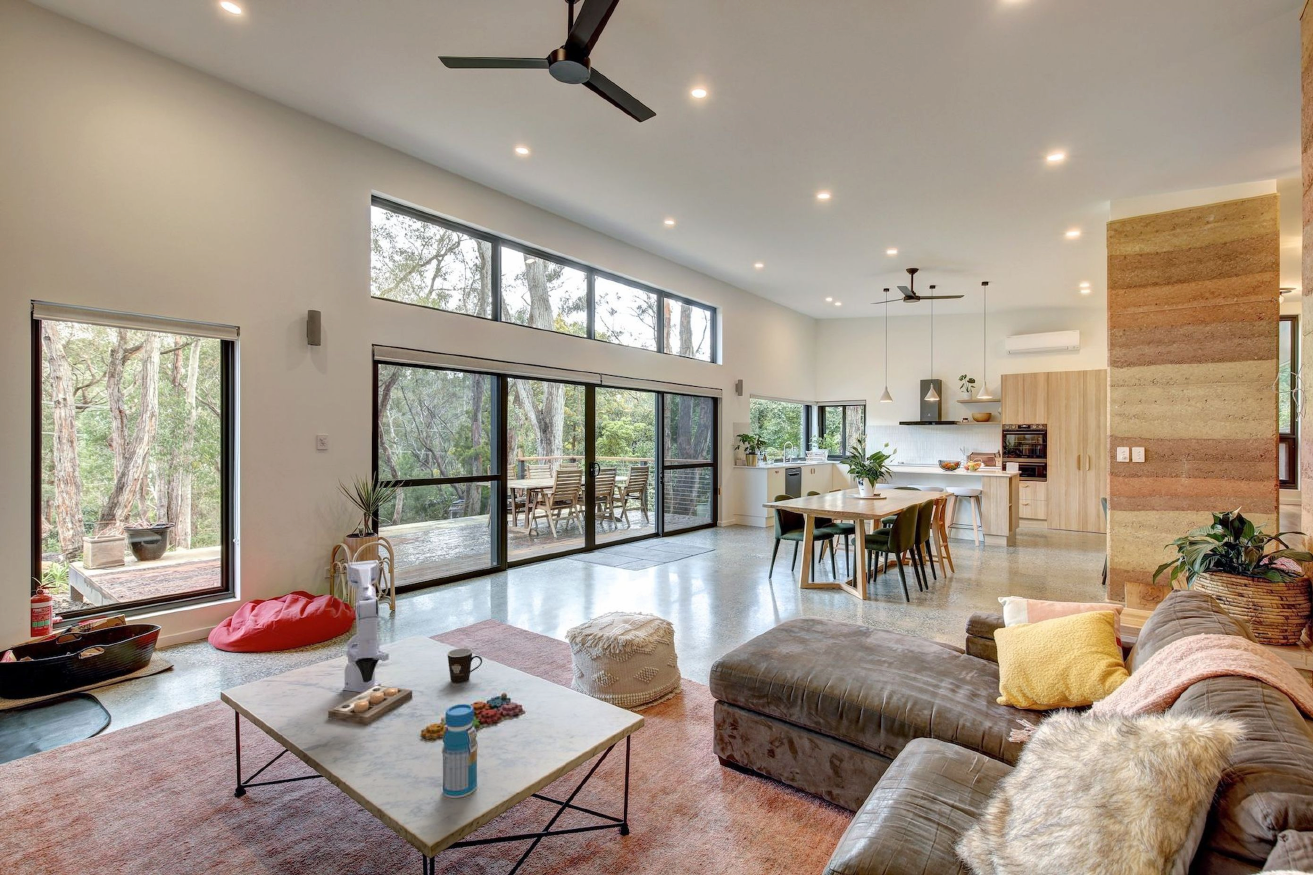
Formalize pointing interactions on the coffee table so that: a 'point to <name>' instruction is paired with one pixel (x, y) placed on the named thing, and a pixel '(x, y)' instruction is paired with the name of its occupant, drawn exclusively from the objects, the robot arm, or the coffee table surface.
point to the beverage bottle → (459, 752)
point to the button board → (375, 710)
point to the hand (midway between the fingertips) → (367, 680)
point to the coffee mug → (460, 664)
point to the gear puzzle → (481, 715)
